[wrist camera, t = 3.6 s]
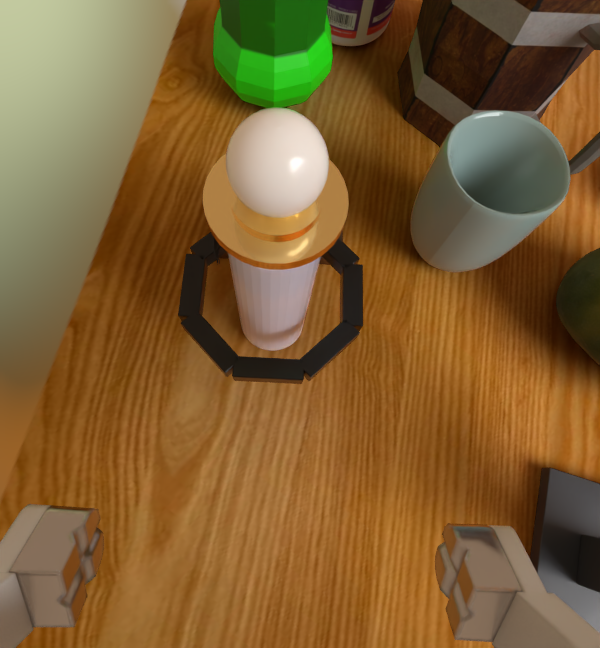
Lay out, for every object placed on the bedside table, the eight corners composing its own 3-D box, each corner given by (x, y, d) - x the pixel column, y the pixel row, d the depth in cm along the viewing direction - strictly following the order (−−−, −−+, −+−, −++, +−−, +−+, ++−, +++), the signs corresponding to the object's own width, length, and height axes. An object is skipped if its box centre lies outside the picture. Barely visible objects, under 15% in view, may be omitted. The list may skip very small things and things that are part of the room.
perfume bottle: (326, 318, 34) (404, 120, 15) (278, 377, 32) (294, 242, 13) (266, 272, 34) (266, 29, 15) (216, 328, 33) (145, 133, 14)
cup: (406, 289, 35) (459, 221, 25) (391, 201, 37) (433, 109, 28) (503, 283, 35) (589, 215, 26) (481, 197, 38) (553, 106, 28)
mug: (368, 62, 41) (421, -150, 27) (490, 25, 44) (596, -188, 30) (479, 239, 37) (614, 92, 22) (609, 185, 39) (804, 22, 25)
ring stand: (344, 400, 32) (366, 380, 25) (189, 393, 31) (167, 370, 24) (345, 199, 37) (364, 135, 30) (213, 189, 36) (199, 122, 29)
